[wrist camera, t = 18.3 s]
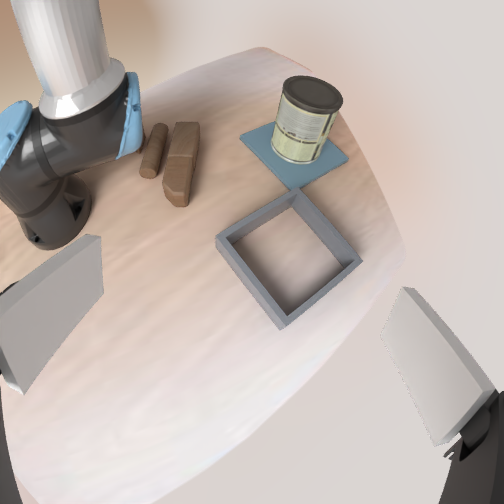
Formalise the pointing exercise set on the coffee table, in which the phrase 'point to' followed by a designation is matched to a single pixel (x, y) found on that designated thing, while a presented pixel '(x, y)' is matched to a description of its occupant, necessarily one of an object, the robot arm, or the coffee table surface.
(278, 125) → the coffee can
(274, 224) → the coffee table surface
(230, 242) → the bin
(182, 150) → the wooden block set
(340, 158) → the board
